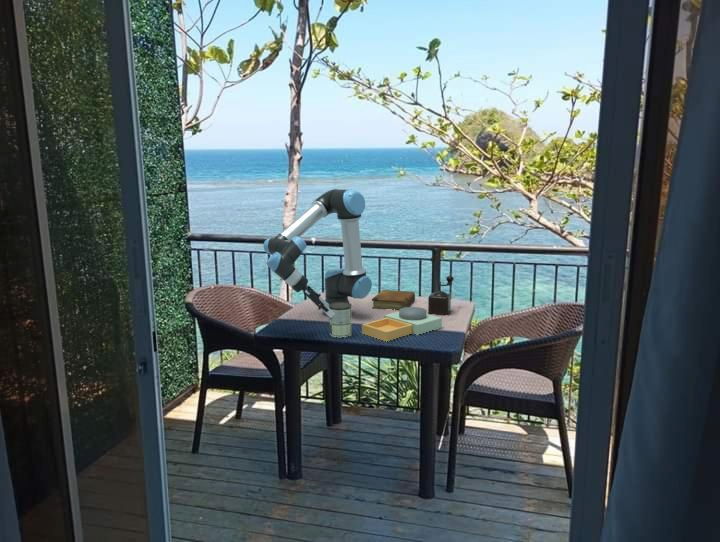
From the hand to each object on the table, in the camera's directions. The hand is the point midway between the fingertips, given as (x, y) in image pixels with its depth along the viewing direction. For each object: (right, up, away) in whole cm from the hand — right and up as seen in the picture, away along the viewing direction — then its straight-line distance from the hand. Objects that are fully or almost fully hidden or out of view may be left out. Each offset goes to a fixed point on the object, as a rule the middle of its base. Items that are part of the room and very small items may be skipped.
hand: (330, 311), depth 260 cm
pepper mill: (+56, -3, +42) cm, 70 cm away
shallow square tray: (+26, -11, +4) cm, 28 cm away
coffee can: (+4, -11, +4) cm, 12 cm away
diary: (+32, -1, +56) cm, 65 cm away
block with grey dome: (+38, -8, +15) cm, 42 cm away
